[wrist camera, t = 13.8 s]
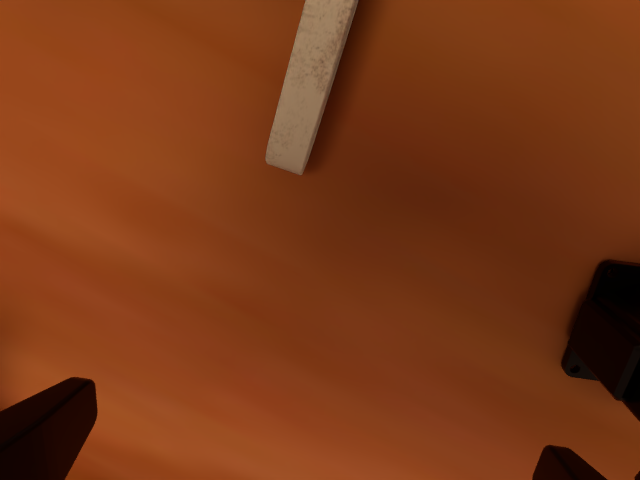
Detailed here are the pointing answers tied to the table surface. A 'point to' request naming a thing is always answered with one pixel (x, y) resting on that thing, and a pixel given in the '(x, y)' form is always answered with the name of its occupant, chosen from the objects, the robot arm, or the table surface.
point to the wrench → (308, 81)
